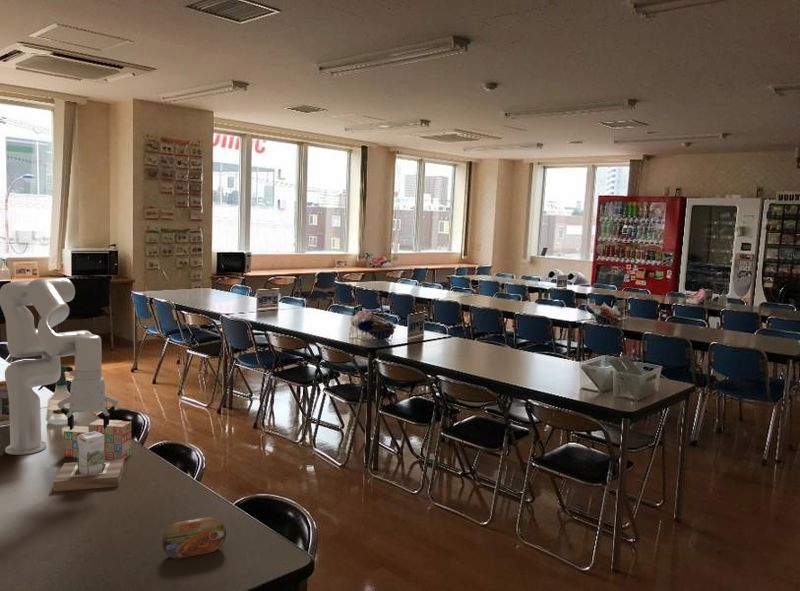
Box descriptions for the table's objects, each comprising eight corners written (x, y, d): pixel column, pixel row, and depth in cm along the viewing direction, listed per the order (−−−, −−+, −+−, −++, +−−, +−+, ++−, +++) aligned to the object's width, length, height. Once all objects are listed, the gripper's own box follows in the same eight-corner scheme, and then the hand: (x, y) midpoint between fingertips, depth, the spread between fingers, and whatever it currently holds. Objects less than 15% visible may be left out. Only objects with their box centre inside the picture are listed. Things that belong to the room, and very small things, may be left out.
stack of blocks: (64, 457, 224) (63, 422, 223) (75, 451, 230) (74, 417, 229) (122, 461, 222) (121, 426, 220) (132, 455, 228) (131, 420, 227)
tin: (162, 561, 157) (162, 527, 156) (161, 555, 160) (161, 522, 159) (226, 550, 163) (226, 518, 162) (224, 544, 166) (224, 513, 165)
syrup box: (95, 474, 209) (94, 430, 208) (104, 478, 206) (104, 434, 205) (77, 479, 205) (76, 434, 203) (87, 484, 201) (86, 438, 200)
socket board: (64, 472, 210) (64, 462, 210) (124, 467, 216) (124, 458, 215) (53, 491, 195) (53, 481, 195) (118, 486, 200) (118, 476, 200)
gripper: (54, 378, 196) (55, 433, 198) (116, 376, 201) (117, 430, 203) (60, 372, 203) (60, 425, 205) (119, 371, 208) (119, 422, 210)
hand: (88, 427), depth 204 cm, fingers open, 9 cm apart
